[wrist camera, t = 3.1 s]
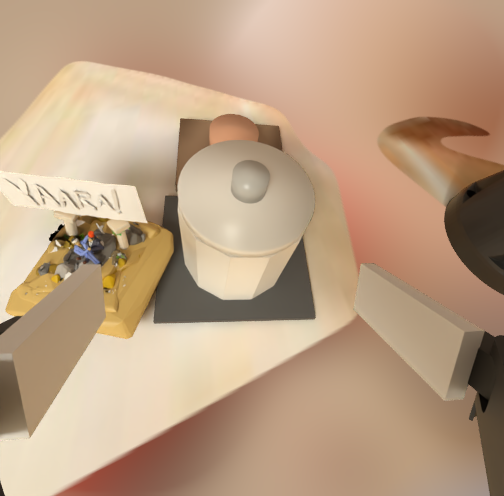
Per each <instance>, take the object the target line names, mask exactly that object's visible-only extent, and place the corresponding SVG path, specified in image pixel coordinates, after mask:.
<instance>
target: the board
mask: <svg viewBox="0 0 504 496" xmlns="http://www.w3.org/2000/svg"><path fill="white" fill-rule="evenodd" d="M211 123H212V121H207V120H194V119H182V118H181V119H180V132H179V145H178V158H177V171H176V192H178V189H177V186H178V180H179V176H180V173H181V171H182V169H183V167H184V166H185V164H186V163H187V162H188V160H189V159H190V158H191V157H192V156H193V155H194V154H196V153H197V152H199V151H200V150H202V149H204V148H205V147H207V146H209V131H210V124H211ZM255 125H256V126H257V128H258V131H259V137H258V142H260V143H263V144H267V145H270V146H272V147H274V148H277V149H279V150H280V151H282V145H281V138H280V131H279V126H270V125H257V124H255ZM282 152H283V151H282Z"/></svg>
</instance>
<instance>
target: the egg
mask: <svg viewBox="0 0 504 496" xmlns="http://www.w3.org/2000/svg"><path fill="white" fill-rule="evenodd" d="M258 137H259V131H258V128H257V126H256V125H255V124H254V123H253V122H252V121H251V120H249V119H248V118H246V117H243V116H240V115H235V114H226V115H222V116H219V117H217V118H216V119H214V120H213V121H212V123H211V124H210V131H209V146H210V145H212V144H215V143H219V142H223V141H229V140H248V141H255V142H258Z"/></svg>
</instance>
